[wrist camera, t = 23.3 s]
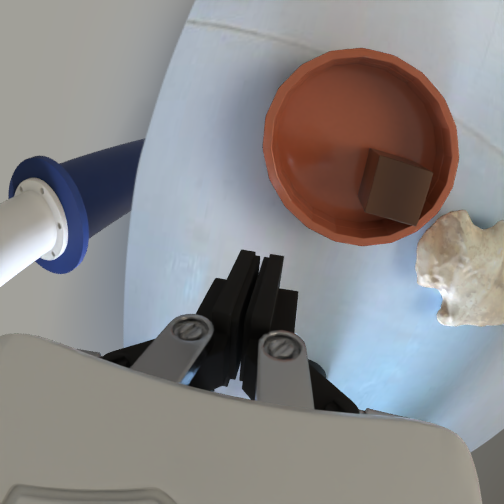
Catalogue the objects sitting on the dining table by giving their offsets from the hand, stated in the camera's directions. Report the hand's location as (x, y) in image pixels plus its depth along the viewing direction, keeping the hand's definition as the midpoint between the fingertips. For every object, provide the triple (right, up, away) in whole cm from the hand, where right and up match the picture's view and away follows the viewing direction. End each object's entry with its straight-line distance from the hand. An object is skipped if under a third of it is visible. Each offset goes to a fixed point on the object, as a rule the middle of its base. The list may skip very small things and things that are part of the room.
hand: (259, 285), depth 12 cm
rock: (+25, -1, +14) cm, 29 cm away
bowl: (+9, +11, +12) cm, 18 cm away
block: (+11, +8, +12) cm, 18 cm away
